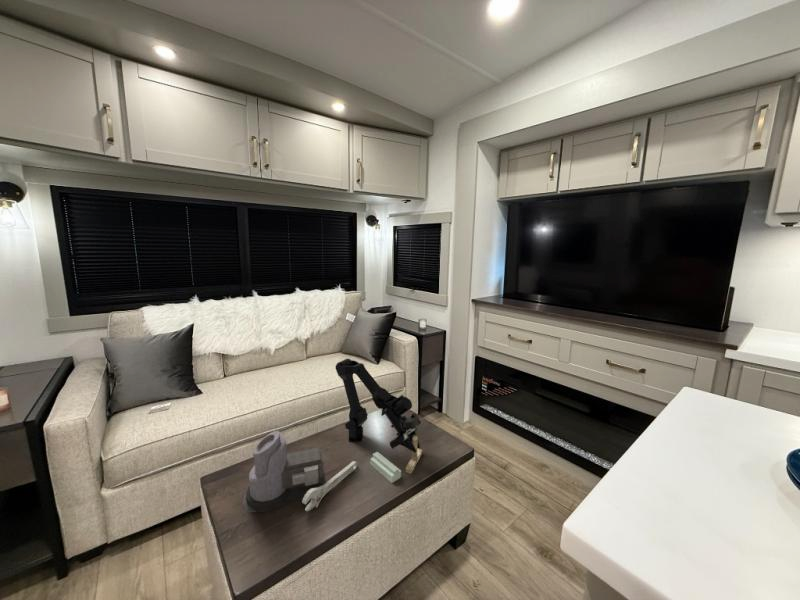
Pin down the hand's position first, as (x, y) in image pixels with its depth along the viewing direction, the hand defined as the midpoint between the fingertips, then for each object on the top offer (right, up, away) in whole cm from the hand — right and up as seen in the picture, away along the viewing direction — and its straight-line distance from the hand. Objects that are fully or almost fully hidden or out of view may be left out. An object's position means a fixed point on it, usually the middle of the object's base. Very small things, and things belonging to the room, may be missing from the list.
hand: (417, 449), depth 135 cm
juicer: (-51, -9, -15) cm, 54 cm away
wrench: (-34, -9, -14) cm, 37 cm away
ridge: (-14, -7, -4) cm, 16 cm away
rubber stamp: (-1, -6, +2) cm, 7 cm away
